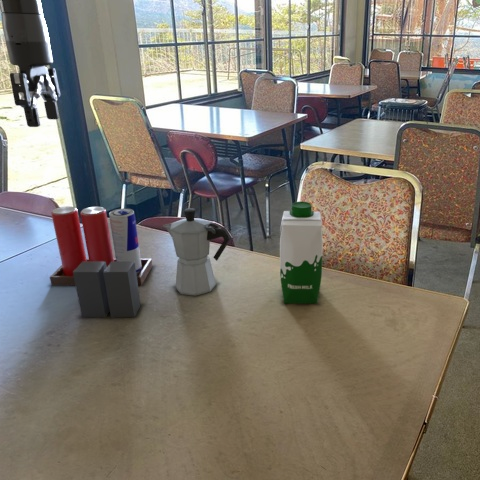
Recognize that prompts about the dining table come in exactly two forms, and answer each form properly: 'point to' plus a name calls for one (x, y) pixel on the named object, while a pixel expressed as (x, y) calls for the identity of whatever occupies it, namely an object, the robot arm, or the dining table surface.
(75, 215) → the drink can
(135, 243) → the beverage can
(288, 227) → the milk carton
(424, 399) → the dining table surface
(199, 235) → the coffee maker
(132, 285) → the grey block
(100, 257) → the drink can
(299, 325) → the dining table surface
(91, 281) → the grey block
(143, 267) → the can tray
